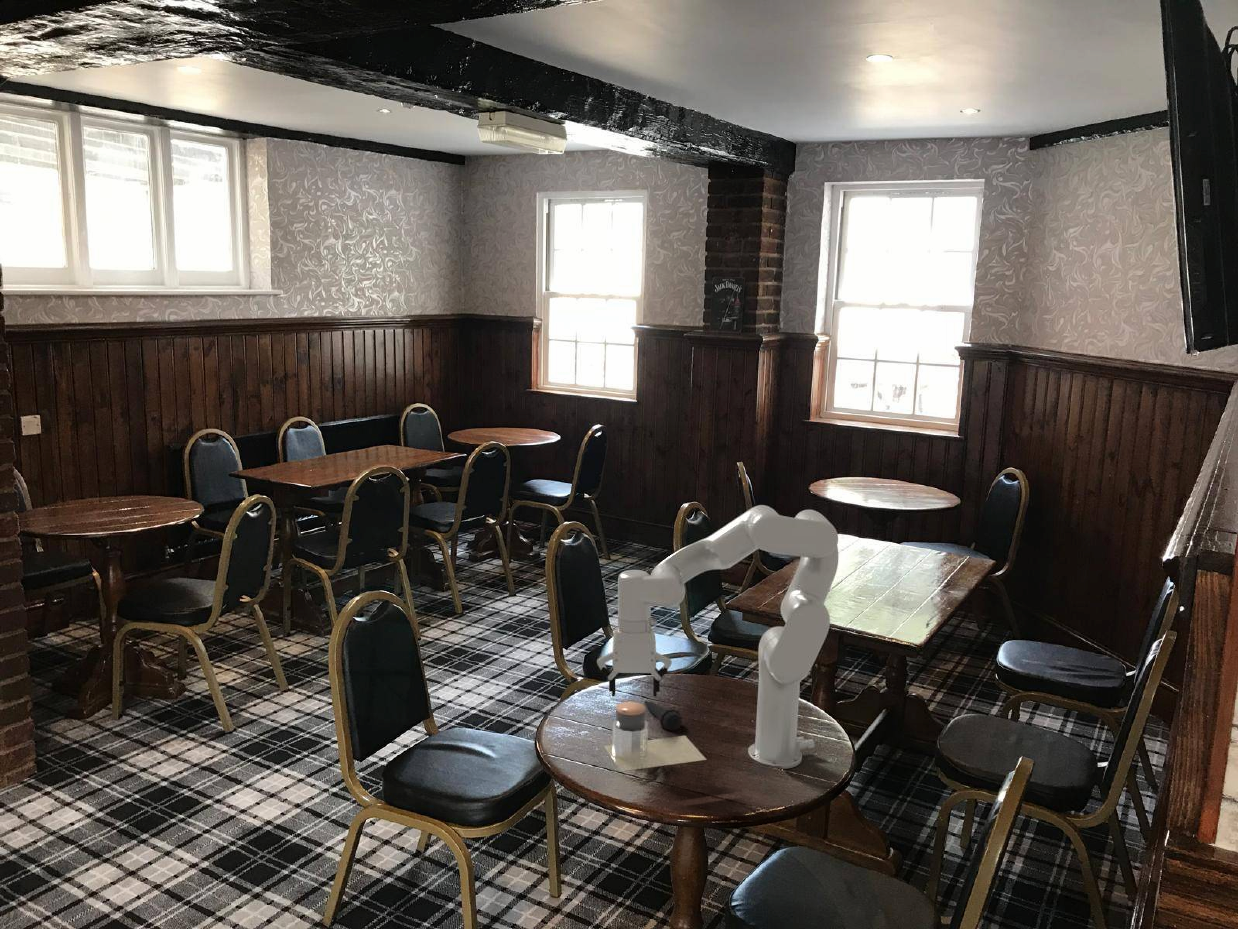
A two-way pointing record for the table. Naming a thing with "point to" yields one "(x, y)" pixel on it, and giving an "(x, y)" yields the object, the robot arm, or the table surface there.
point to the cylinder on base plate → (649, 749)
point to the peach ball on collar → (630, 715)
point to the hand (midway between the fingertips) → (634, 694)
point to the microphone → (665, 716)
